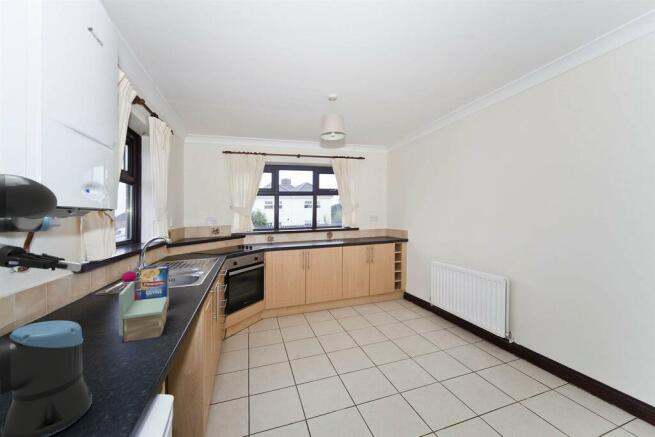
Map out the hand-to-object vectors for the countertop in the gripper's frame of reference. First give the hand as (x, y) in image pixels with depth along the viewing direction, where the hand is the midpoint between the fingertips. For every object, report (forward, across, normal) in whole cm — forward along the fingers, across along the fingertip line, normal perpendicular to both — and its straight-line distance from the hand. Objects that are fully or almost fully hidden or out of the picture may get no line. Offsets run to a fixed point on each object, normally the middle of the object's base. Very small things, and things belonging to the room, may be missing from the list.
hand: (79, 267), depth 95 cm
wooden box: (+22, -12, -25) cm, 36 cm away
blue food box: (+16, -35, -26) cm, 47 cm away
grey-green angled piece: (+21, -12, -23) cm, 33 cm away
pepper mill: (+1, -41, -29) cm, 51 cm away
